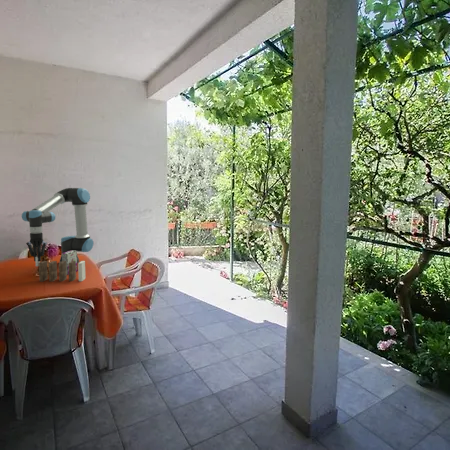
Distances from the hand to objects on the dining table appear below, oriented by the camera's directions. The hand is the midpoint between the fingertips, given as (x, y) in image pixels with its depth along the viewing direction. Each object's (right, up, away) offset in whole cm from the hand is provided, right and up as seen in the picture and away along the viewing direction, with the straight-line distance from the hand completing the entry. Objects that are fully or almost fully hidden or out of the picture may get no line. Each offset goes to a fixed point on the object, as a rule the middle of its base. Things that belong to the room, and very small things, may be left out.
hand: (37, 265), depth 219 cm
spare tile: (+29, -11, +5) cm, 31 cm away
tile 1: (+3, -10, +2) cm, 11 cm away
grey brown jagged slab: (+16, -11, +3) cm, 20 cm away
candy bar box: (+12, -8, +22) cm, 26 cm away
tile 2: (+10, -10, +2) cm, 14 cm away
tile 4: (+23, -11, +4) cm, 25 cm away
